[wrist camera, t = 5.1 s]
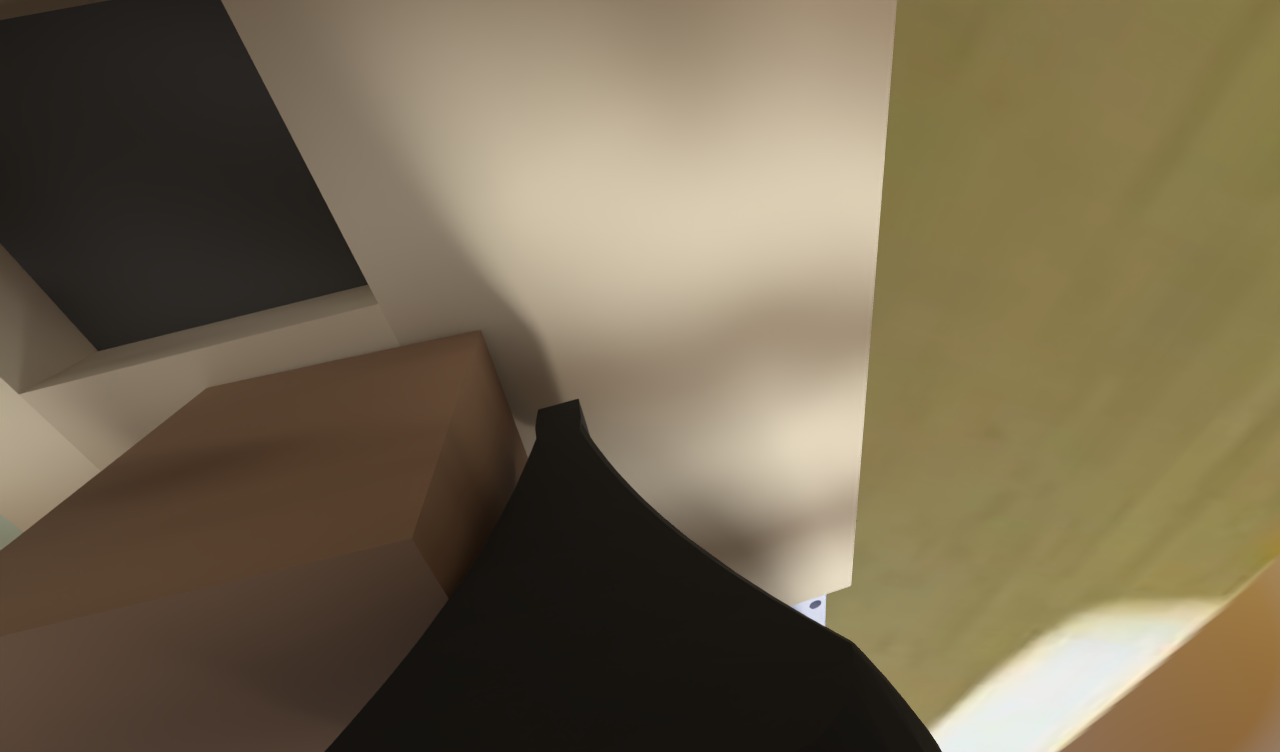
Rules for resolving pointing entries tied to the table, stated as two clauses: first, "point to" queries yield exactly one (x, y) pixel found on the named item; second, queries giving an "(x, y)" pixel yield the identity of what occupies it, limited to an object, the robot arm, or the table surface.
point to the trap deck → (460, 231)
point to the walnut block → (257, 558)
